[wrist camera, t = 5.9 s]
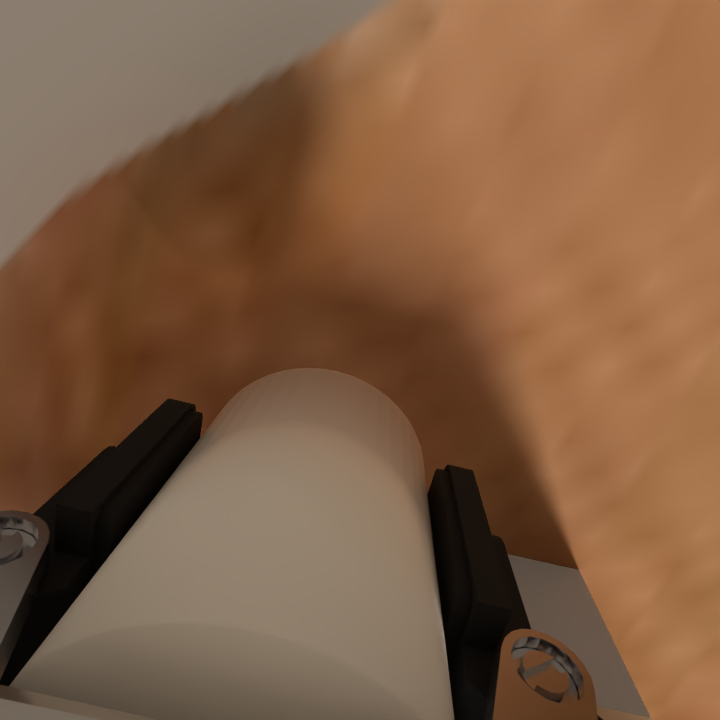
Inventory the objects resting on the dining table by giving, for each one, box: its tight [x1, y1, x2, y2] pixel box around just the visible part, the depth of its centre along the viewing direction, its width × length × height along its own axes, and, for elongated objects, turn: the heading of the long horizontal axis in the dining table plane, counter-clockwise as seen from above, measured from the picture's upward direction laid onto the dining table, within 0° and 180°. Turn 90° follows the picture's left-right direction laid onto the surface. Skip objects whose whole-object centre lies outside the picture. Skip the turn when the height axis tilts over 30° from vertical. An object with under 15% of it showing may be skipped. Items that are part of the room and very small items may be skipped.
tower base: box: [508, 554, 650, 717], centre depth 19 cm, size 6×6×6 cm
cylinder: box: [9, 368, 454, 720], centre depth 9 cm, size 5×5×7 cm
